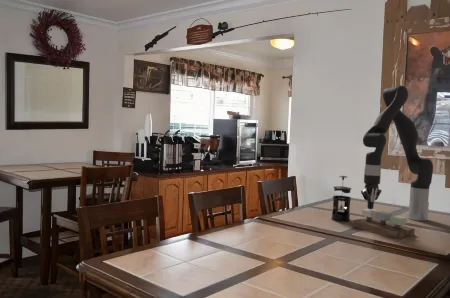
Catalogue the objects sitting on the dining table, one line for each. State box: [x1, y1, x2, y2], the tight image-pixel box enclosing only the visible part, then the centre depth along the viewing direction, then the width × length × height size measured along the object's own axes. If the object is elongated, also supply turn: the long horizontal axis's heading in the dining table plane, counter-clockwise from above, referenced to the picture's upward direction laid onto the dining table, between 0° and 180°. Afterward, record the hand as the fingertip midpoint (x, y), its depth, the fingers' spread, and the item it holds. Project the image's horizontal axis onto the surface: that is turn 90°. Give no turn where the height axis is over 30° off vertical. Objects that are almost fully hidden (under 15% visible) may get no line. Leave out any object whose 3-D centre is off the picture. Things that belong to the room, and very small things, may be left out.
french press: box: [330, 175, 352, 223], centre depth 219 cm, size 12×9×23 cm
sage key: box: [389, 215, 408, 229], centre depth 193 cm, size 5×5×6 cm
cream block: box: [361, 208, 378, 221], centre depth 207 cm, size 5×5×6 cm
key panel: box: [352, 217, 416, 239], centre depth 200 cm, size 14×24×3 cm, turn 32°
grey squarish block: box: [375, 211, 393, 225], centre depth 200 cm, size 5×5×6 cm
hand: (370, 208), depth 206 cm, fingers closed
